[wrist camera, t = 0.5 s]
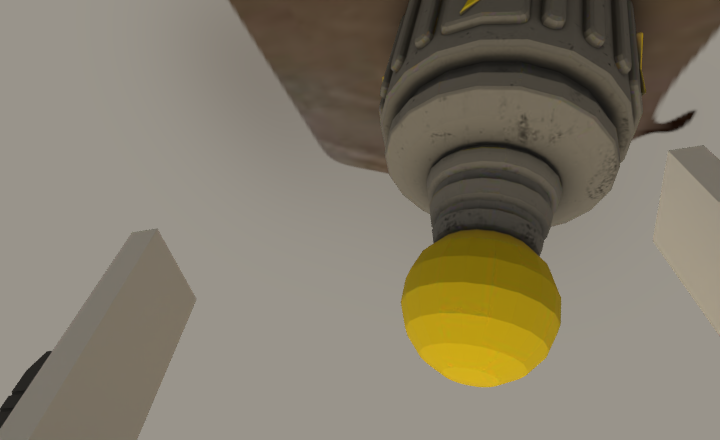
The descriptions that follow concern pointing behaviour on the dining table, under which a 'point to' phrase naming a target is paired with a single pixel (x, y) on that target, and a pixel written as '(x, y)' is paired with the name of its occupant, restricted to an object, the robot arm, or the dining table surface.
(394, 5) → the dining table surface
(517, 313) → the decorative lamp
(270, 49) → the dining table surface
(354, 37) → the dining table surface
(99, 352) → the robot arm
